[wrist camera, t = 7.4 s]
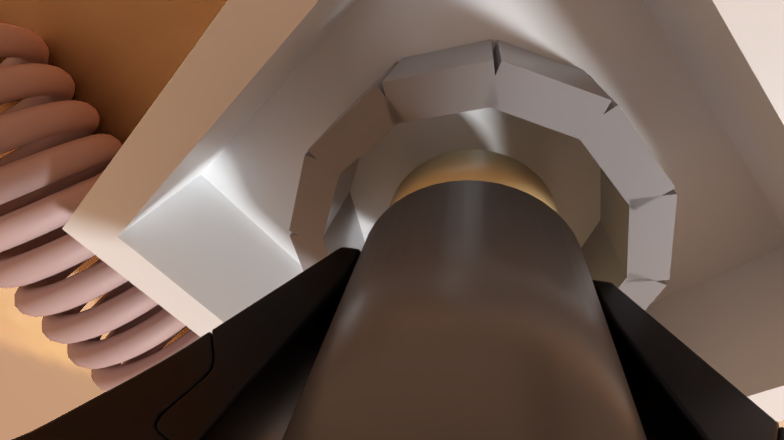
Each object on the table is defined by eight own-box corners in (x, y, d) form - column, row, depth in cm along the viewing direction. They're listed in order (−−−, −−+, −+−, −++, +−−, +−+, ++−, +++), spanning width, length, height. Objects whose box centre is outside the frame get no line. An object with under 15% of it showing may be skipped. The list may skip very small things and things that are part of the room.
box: (540, -288, 7) (589, -501, 4) (841, 235, 11) (1004, 360, 7) (168, 161, 13) (61, 229, 10) (440, 404, 17) (430, 516, 13)
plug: (489, 98, 9) (510, 549, 2) (606, 244, 10) (865, 837, 3) (344, 213, 11) (114, 630, 4) (455, 323, 12) (421, 789, 5)
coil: (-264, 93, 9) (218, 532, 17) (-209, -8, 7) (314, 544, 14) (-36, 48, 13) (277, 421, 20) (42, -27, 11) (360, 418, 18)
